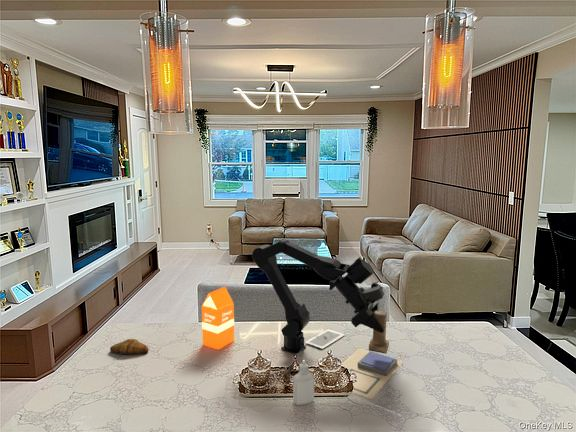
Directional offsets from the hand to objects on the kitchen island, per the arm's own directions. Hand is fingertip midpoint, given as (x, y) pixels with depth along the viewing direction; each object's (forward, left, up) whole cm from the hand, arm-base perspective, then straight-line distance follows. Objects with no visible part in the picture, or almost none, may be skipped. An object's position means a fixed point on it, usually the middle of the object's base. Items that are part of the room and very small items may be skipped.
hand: (383, 329), depth 127 cm
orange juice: (-55, -19, -13) cm, 60 cm away
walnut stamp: (-1, 0, -7) cm, 7 cm away
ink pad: (-1, -1, -12) cm, 12 cm away
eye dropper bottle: (-10, -31, -13) cm, 35 cm away
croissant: (-75, -42, -13) cm, 87 cm away
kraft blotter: (-3, -6, -12) cm, 14 cm away
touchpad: (-25, +6, -13) cm, 28 cm away
